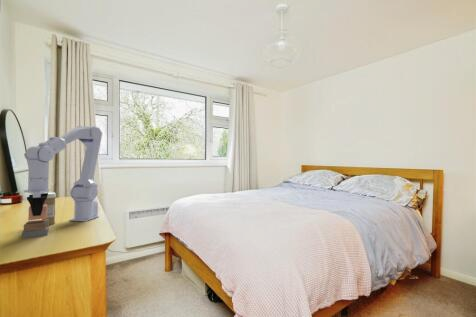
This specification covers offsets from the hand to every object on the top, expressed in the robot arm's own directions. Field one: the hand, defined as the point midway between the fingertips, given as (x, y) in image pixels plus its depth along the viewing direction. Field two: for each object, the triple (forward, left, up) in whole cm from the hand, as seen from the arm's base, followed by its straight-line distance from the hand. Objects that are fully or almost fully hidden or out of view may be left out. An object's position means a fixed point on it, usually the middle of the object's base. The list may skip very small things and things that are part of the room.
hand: (37, 214), depth 86 cm
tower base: (0, 0, -8) cm, 8 cm away
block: (0, 0, -2) cm, 2 cm away
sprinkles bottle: (-12, -7, -8) cm, 16 cm away
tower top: (0, 0, -5) cm, 5 cm away
